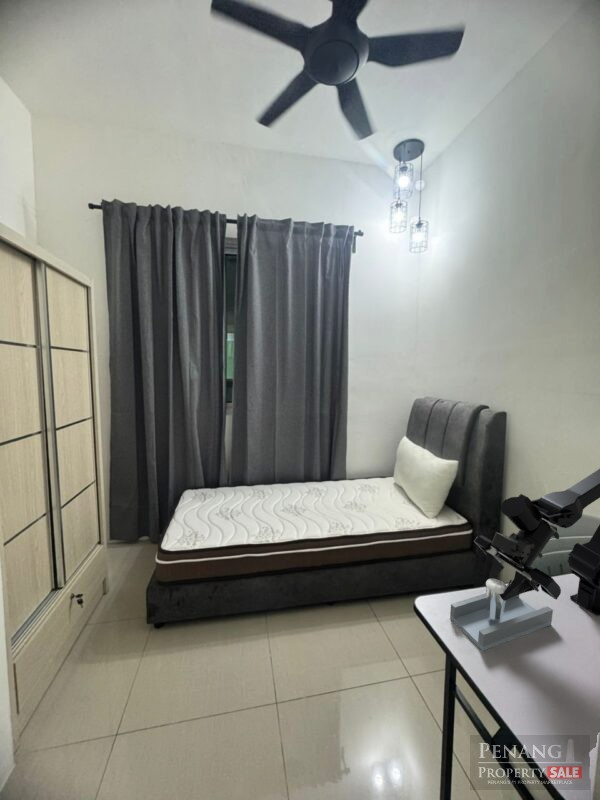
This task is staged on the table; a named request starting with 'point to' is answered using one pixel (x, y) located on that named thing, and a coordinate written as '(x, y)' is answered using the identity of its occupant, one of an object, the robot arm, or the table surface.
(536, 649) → the table surface
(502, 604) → the milkshake
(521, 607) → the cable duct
